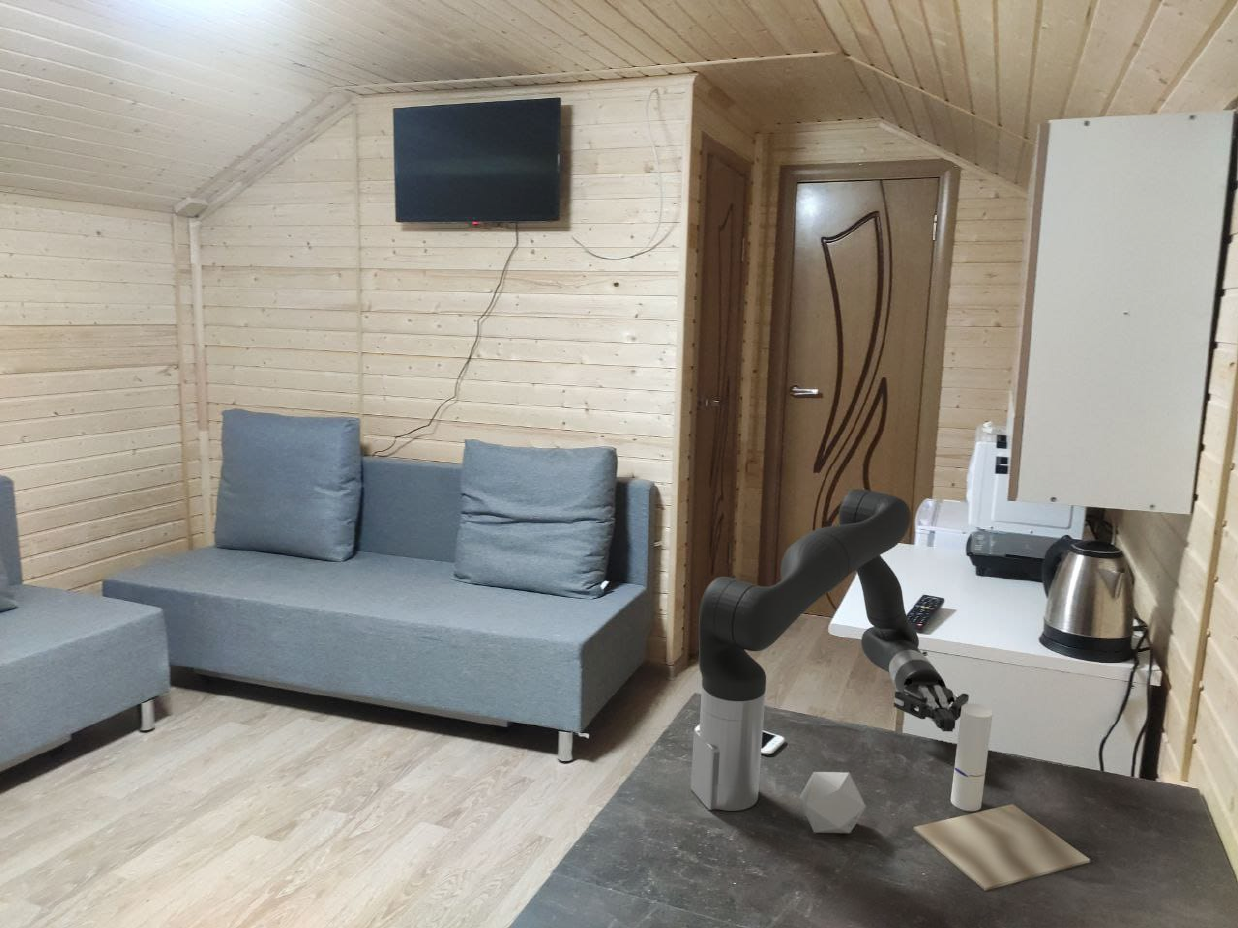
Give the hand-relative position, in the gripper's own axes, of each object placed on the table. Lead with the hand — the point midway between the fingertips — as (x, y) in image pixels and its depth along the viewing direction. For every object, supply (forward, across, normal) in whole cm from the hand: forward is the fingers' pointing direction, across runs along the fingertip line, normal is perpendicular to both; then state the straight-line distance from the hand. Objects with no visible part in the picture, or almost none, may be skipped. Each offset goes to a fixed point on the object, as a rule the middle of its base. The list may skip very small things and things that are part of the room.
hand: (948, 726), depth 147 cm
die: (+17, -22, +7) cm, 29 cm away
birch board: (+20, +1, +7) cm, 22 cm away
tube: (+10, 0, +7) cm, 13 cm away
